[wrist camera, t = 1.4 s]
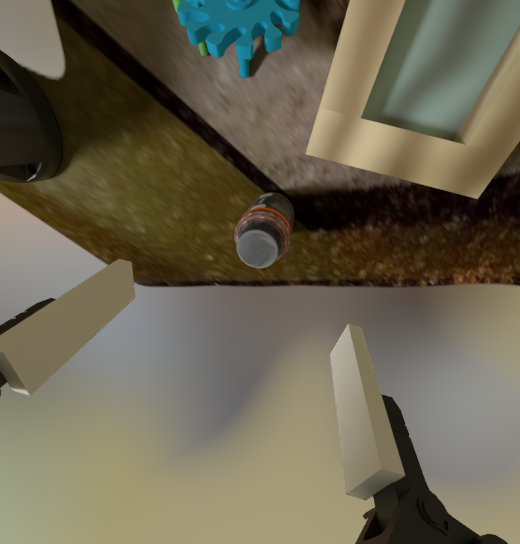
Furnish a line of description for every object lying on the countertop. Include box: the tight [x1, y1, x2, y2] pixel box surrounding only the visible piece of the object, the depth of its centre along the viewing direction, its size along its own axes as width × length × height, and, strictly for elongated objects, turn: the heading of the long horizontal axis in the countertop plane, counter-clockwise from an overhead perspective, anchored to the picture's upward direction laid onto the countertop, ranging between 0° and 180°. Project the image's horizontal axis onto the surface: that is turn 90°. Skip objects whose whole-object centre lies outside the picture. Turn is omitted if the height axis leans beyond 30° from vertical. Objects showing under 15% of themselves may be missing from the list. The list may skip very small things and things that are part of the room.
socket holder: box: [306, 0, 520, 199], centre depth 20 cm, size 18×18×3 cm
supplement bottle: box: [235, 193, 294, 268], centre depth 26 cm, size 6×6×11 cm
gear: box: [173, 0, 300, 78], centre depth 20 cm, size 11×6×10 cm
